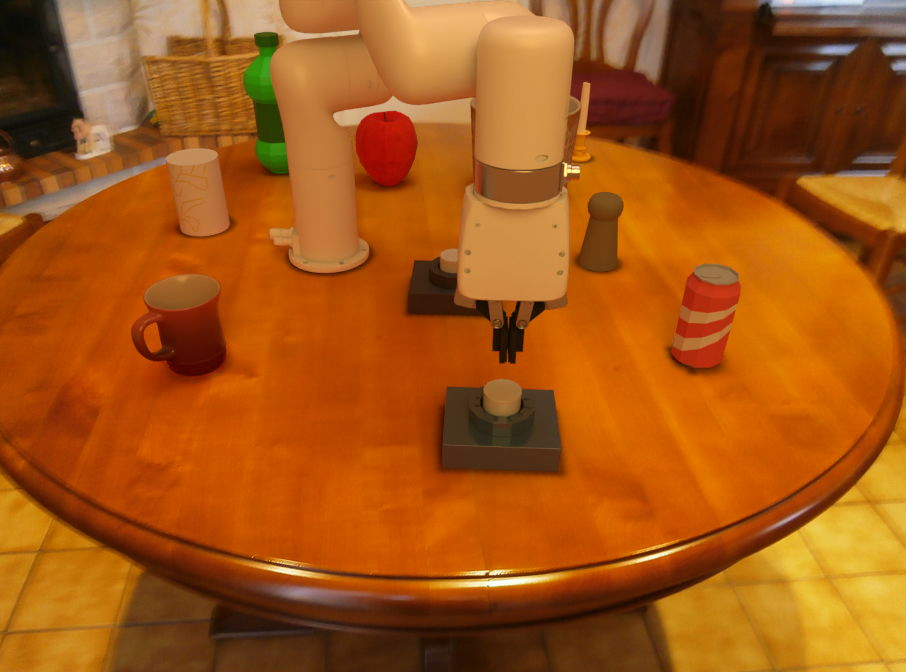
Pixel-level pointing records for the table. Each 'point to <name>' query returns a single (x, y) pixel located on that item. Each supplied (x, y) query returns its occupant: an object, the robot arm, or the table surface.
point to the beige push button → (502, 397)
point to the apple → (386, 146)
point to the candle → (582, 128)
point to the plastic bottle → (266, 106)
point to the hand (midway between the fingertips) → (506, 355)
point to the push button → (449, 260)
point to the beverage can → (706, 315)
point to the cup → (198, 191)
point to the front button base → (501, 433)
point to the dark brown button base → (434, 290)
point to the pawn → (601, 232)
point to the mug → (184, 324)
